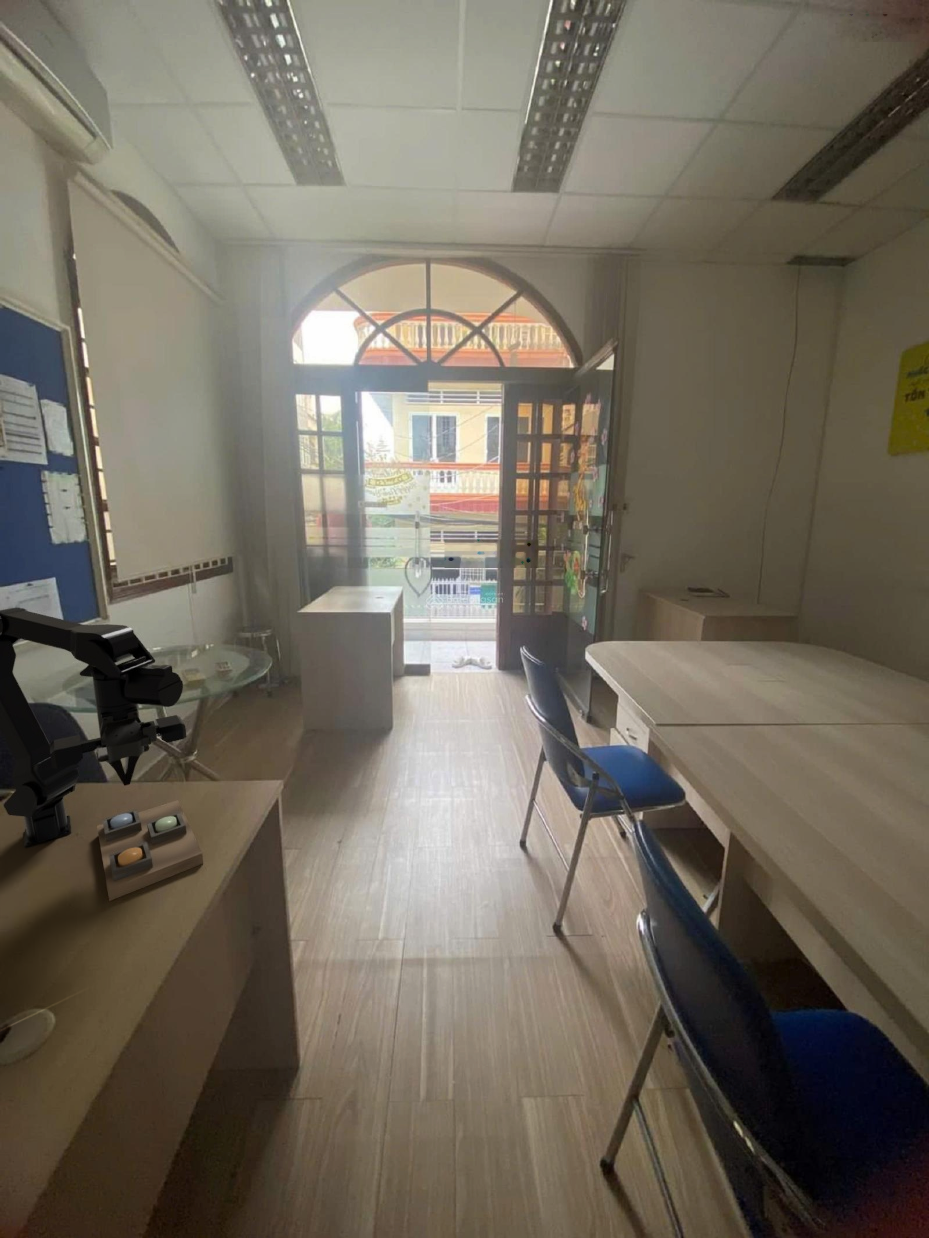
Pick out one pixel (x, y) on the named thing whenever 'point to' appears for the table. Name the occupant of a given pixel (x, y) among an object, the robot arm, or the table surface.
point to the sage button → (165, 824)
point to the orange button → (130, 856)
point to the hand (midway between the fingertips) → (126, 784)
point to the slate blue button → (121, 820)
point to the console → (147, 849)
